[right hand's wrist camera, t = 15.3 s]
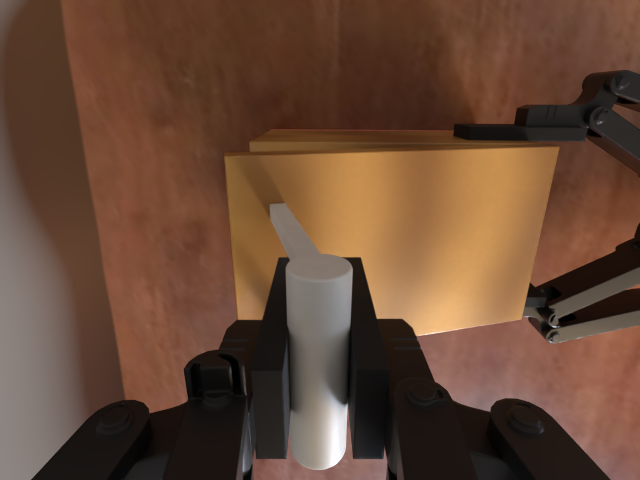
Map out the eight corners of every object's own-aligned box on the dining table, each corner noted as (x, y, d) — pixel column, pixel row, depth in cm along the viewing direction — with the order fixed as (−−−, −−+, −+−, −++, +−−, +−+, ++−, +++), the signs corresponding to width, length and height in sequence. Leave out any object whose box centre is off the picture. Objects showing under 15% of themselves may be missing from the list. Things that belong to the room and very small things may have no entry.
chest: (275, 252, 32) (258, 306, 23) (271, 129, 28) (248, 141, 20) (461, 253, 32) (510, 309, 23) (479, 130, 28) (544, 143, 20)
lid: (239, 350, 19) (259, 532, 11) (223, 152, 16) (234, 207, 8) (508, 309, 23) (665, 422, 15) (541, 143, 20) (770, 174, 12)
